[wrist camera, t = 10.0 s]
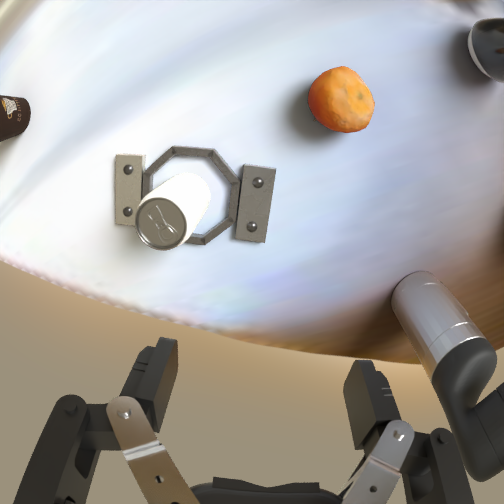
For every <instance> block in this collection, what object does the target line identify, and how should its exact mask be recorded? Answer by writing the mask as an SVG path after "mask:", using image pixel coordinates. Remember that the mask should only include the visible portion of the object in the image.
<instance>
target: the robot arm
mask: <svg viewBox="0 0 504 504" xmlns="http://www.w3.org/2000/svg"><path fill="white" fill-rule="evenodd" d="M391 306H392V309H393V312H394V313H395V315H396V317H397V319H398V320H399V322H400V324H401V326H402V328H403V330H404V331H405V333H406V335H407V337H408V339H409V341H410V343H411V344H412V346H413V348H414V350H415V352H416V354H417V356H418V358H419V360H420V362H421V364H422V366H423V367H424V369H425V371H426V373H427V375H428V377H429V379H430V381H431V383H432V385H433V388H434V389H435V392H436V393H437V396H438V398H439V401H440V403H441V405H442V407H443V409H444V412H445V414H446V417H447V419H448V422H449V425H450V428H451V430H452V433H451V432H450V431H449V430H447V429H444V428H437V429H435V430H433V431H432V432H431V434H425V433H420V432H415V431H414V430H413V428H412V427H411V425H409V424H408V423H407V422H405V421H402V420H401V417H400V414H399V411H398V408H397V405H396V403H395V399H394V397H393V396H392V391H391V389H390V386H389V383H388V380H387V378H386V377H385V376H384V375H383V374H382V373H381V371H376V370H375V367H374V364H373V362H372V361H371V360H355V362H354V363H353V365H352V367H351V370H350V372H349V374H348V376H347V378H346V380H345V383H344V389H343V393H344V398H345V403H346V407H347V411H348V417H349V421H350V426H351V431H352V436H353V441H354V446H355V450H361V449H364V453H365V454H364V455H363V457H362V458H361V460H360V461H359V463H358V464H357V466H356V467H355V469H354V470H353V472H352V474H351V475H350V476H349V478H348V479H347V481H346V482H345V484H344V485H343V486H342V488H341V489H340V490H339V492H338V493H337V494H334V493H332V492H329V491H327V490H324V489H320V488H319V483H317V482H315V483H290V484H285V485H280V486H275V487H268V488H267V487H262V486H259V485H255V484H252V483H249V482H245V481H242V480H236V479H227V478H219V477H213V482H212V483H204V484H199V485H196V486H193V487H190V488H189V486H188V485H187V483H186V482H185V480H184V479H183V477H182V475H181V474H180V472H179V471H178V469H177V467H176V466H175V464H174V462H173V461H172V459H171V457H170V456H169V454H168V452H167V450H166V449H165V447H164V446H163V445H162V444H160V442H159V441H158V439H157V437H156V435H155V433H154V432H157V433H159V432H160V428H161V425H162V422H163V418H164V415H165V412H166V408H167V405H168V402H169V399H170V395H171V392H172V389H173V386H174V382H175V379H176V376H177V371H178V349H177V348H178V345H177V340H175V339H169V338H164V337H160V338H159V340H158V343H157V345H156V347H151V346H147V347H146V348H144V349H143V350H142V351H141V352H140V353H139V355H138V357H137V359H136V362H135V363H134V365H133V367H132V370H131V372H130V374H129V376H128V378H127V380H126V383H125V385H124V387H123V389H122V391H121V393H120V395H119V397H116V398H114V399H112V400H111V401H110V402H109V403H107V404H86V403H85V401H84V400H83V399H82V398H81V397H79V396H77V395H66V396H63V397H61V398H60V399H59V400H58V401H57V402H56V404H55V406H54V408H53V411H52V412H51V415H50V417H49V419H48V421H47V423H46V425H45V427H44V429H43V431H42V434H41V436H40V438H39V440H38V443H37V445H36V447H35V449H34V452H33V454H32V456H31V459H30V461H29V463H28V466H27V468H26V471H25V473H24V476H23V478H22V481H21V484H20V486H19V489H18V492H17V495H16V497H15V500H14V503H13V504H85V503H86V499H87V495H88V492H89V488H90V485H91V481H92V478H93V475H94V471H95V468H96V465H97V461H98V458H99V455H100V452H101V450H122V452H123V454H124V456H125V458H126V461H127V463H128V465H129V467H130V469H131V471H132V473H133V475H134V477H135V479H136V481H137V483H138V485H139V487H140V489H141V491H142V493H143V495H144V497H145V498H146V500H147V502H148V504H386V503H387V501H388V499H389V497H390V496H391V494H392V492H393V490H394V488H395V486H396V484H397V482H398V480H399V478H400V476H401V473H402V478H403V483H404V488H405V495H406V500H407V504H474V500H473V496H472V492H471V489H470V485H469V482H468V478H467V475H466V471H465V469H466V470H467V472H468V474H469V475H470V476H471V477H472V478H473V479H474V480H476V481H479V482H484V481H486V480H488V479H490V478H492V477H493V476H495V475H496V474H498V473H500V472H501V471H502V470H504V383H502V384H501V385H500V386H499V387H497V388H496V390H494V391H493V392H492V393H490V394H489V395H488V396H487V397H486V398H485V399H483V400H482V401H481V402H479V403H478V404H477V405H476V403H477V400H478V398H479V396H480V394H481V392H482V391H483V389H484V388H485V386H486V385H487V383H488V381H489V380H490V378H491V377H492V375H493V373H494V371H495V368H496V364H497V355H496V352H495V350H494V348H493V347H492V346H491V344H490V343H489V342H488V340H487V339H486V338H485V337H484V335H483V334H482V333H481V331H480V330H479V329H478V328H477V326H476V325H475V324H474V323H473V321H472V320H471V319H470V318H469V316H468V312H467V311H466V310H465V308H464V307H463V306H462V305H461V304H460V302H459V301H458V300H457V299H456V298H455V297H454V295H453V294H452V293H451V292H450V291H449V290H448V289H447V287H446V286H445V285H444V284H443V283H442V282H439V281H438V280H437V279H436V277H435V276H434V275H432V274H431V273H429V272H424V271H420V272H415V273H412V274H410V275H408V276H407V277H405V278H404V279H403V280H402V281H401V282H400V283H399V284H398V285H397V287H396V288H395V290H394V292H393V295H392V298H391ZM463 464H464V465H463ZM464 466H465V468H464Z"/></svg>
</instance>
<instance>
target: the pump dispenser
mask: <svg viewBox="0 0 504 504" xmlns="http://www.w3.org/2000/svg"><path fill="white" fill-rule="evenodd" d="M468 48H469V52H470V55H471V57H472V59H473V61H474V63H475V64H476V65H477V67H478V68H479V69H480V70H481V71H482V72H483V73H484V74H486V75H487V76H489V77H491V78H493V79H494V80H496V81H498V82H501V83H504V18H487V19H483V20H480V21H478V22H476V23H475V24H474V26H473V28H472V29H471V31H470V33H469V36H468Z"/></svg>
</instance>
